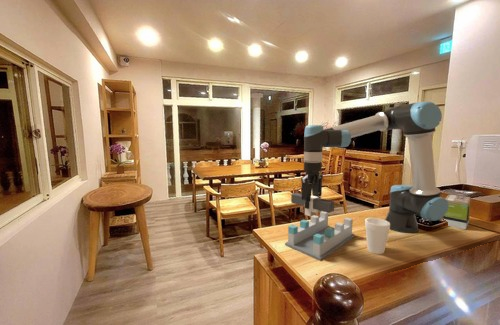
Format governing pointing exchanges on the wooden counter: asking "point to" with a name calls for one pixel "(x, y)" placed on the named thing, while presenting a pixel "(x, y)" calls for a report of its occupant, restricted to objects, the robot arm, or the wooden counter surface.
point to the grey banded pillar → (314, 202)
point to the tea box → (458, 211)
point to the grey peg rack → (319, 236)
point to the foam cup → (376, 234)
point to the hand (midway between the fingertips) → (311, 213)
